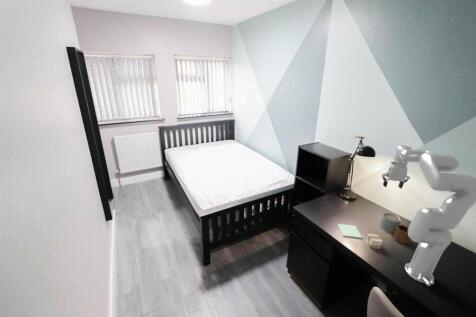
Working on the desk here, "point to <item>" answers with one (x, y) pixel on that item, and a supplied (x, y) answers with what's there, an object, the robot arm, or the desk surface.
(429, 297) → the desk surface
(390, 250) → the desk surface
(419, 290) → the desk surface
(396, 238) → the mug
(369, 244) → the maple block
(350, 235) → the trivet
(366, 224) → the desk surface
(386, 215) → the coffee mug
